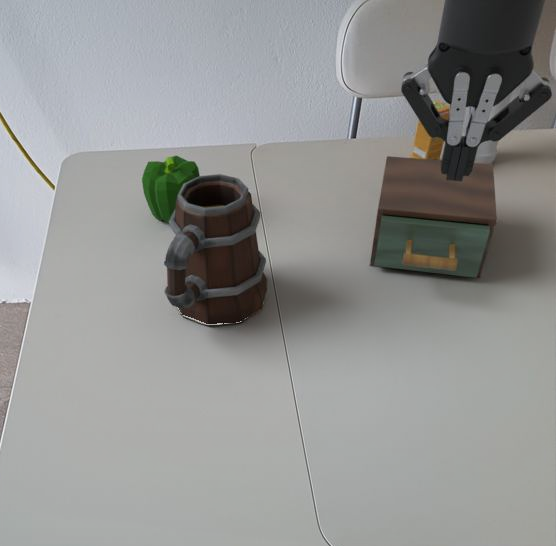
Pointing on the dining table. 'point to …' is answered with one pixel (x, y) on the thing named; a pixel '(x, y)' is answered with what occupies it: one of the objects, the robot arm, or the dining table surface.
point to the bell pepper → (166, 184)
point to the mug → (215, 252)
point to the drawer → (431, 245)
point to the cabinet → (436, 195)
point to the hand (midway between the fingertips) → (453, 176)
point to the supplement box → (429, 138)
